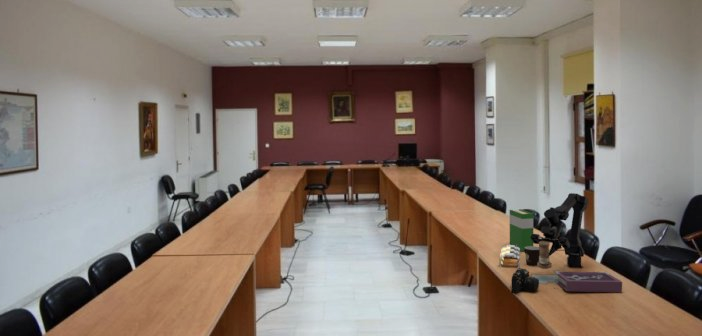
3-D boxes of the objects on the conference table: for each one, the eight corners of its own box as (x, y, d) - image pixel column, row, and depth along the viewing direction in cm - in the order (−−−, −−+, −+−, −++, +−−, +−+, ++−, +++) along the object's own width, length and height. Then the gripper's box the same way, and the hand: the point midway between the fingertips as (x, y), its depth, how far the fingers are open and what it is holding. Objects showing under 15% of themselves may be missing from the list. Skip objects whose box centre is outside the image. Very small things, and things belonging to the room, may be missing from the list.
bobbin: (547, 262, 259) (547, 239, 257) (554, 267, 253) (554, 244, 250) (534, 264, 259) (534, 241, 256) (541, 269, 252) (540, 246, 249)
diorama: (519, 269, 278) (519, 246, 277) (499, 268, 281) (499, 245, 280) (519, 258, 301) (519, 236, 300) (501, 257, 305) (501, 236, 304)
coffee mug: (542, 267, 279) (542, 249, 278) (525, 267, 281) (525, 249, 280) (538, 262, 290) (538, 245, 290) (523, 261, 292) (522, 244, 291)
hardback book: (509, 246, 331) (509, 209, 329) (520, 245, 332) (520, 209, 330) (522, 252, 314) (521, 214, 312) (533, 251, 315) (533, 213, 313)
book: (605, 281, 251) (606, 271, 251) (622, 292, 235) (622, 281, 235) (553, 280, 252) (554, 271, 252) (566, 291, 236) (567, 280, 235)
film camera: (539, 297, 232) (539, 275, 232) (510, 294, 237) (510, 273, 236) (538, 285, 249) (538, 265, 248) (512, 283, 253) (512, 264, 252)
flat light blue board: (559, 277, 261) (559, 275, 261) (565, 285, 247) (565, 283, 247) (531, 276, 264) (531, 274, 264) (535, 284, 250) (535, 283, 250)
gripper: (531, 218, 264) (521, 242, 257) (567, 222, 250) (557, 248, 243) (538, 230, 270) (528, 255, 263) (574, 235, 256) (564, 261, 249)
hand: (544, 254), depth 254 cm, fingers closed on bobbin, 4 cm apart
